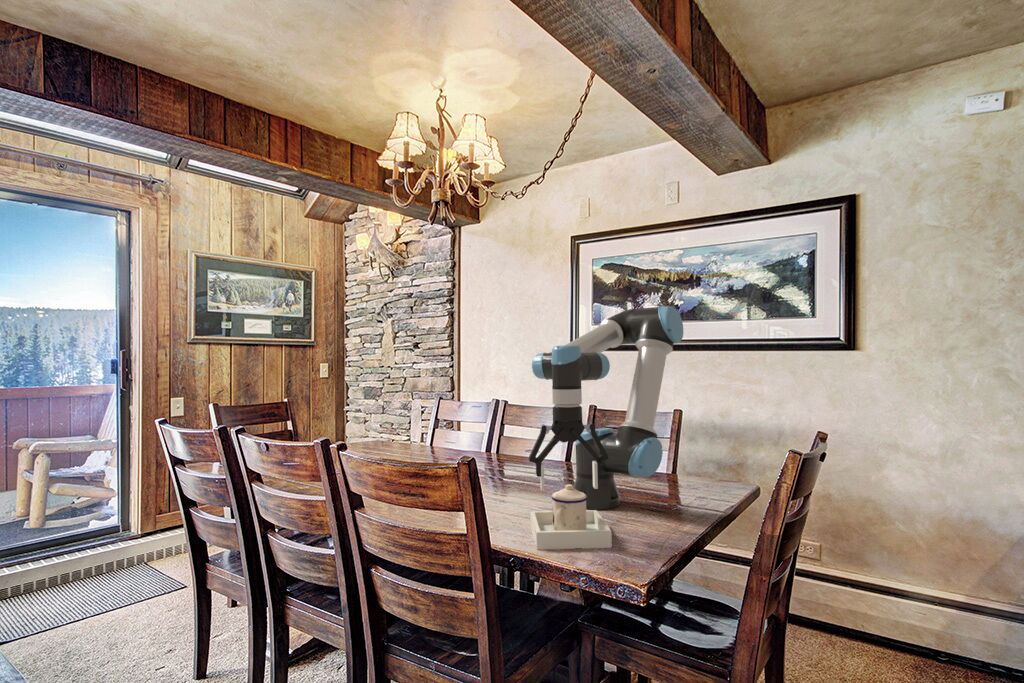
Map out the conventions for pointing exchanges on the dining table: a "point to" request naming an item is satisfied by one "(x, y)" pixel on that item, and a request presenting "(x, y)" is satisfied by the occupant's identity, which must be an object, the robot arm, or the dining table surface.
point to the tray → (570, 532)
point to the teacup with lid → (569, 509)
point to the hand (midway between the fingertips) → (569, 488)
